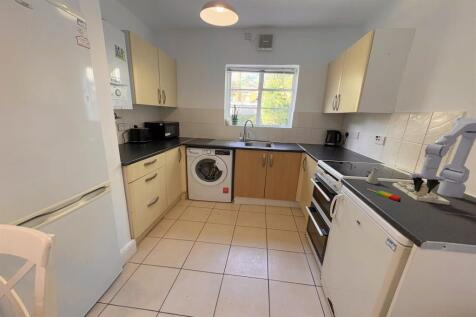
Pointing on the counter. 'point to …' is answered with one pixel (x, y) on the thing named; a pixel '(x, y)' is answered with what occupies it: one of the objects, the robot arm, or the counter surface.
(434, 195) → the egg box
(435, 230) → the counter surface
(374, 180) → the flask
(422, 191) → the egg
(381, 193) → the popsicle
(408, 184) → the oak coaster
